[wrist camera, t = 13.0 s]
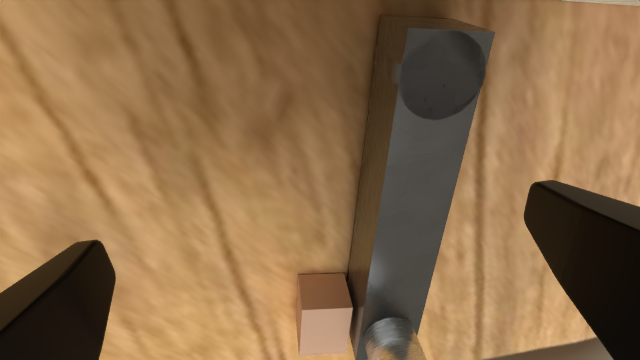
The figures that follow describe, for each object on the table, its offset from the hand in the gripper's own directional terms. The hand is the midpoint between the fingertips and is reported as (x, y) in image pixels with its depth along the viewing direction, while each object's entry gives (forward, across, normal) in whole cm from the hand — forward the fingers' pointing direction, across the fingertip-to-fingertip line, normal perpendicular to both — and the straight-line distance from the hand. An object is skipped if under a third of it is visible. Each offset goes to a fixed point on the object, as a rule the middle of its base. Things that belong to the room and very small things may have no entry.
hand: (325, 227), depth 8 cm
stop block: (+13, 0, +15) cm, 20 cm away
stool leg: (+12, -5, +7) cm, 15 cm away
